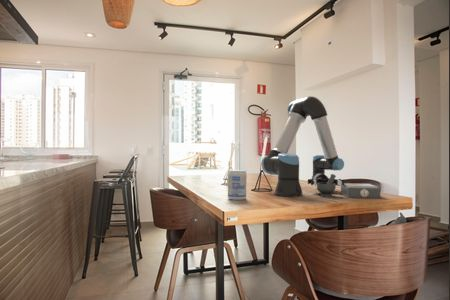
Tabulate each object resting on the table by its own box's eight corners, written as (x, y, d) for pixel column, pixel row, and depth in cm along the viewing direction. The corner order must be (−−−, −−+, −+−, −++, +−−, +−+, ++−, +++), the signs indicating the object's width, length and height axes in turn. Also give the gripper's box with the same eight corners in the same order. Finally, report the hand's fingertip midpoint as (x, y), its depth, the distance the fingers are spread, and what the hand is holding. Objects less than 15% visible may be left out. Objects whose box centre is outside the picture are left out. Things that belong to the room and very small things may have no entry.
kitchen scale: (348, 197, 149) (348, 186, 149) (340, 193, 166) (340, 183, 166) (380, 198, 147) (380, 186, 147) (369, 193, 163) (369, 183, 163)
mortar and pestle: (324, 197, 149) (324, 175, 149) (313, 195, 158) (313, 173, 158) (341, 196, 153) (341, 174, 154) (329, 194, 162) (329, 173, 162)
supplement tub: (232, 200, 139) (232, 171, 139) (224, 198, 147) (224, 170, 147) (249, 199, 143) (249, 170, 143) (241, 197, 151) (241, 169, 151)
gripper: (342, 186, 176) (352, 190, 155) (301, 185, 180) (305, 189, 159) (342, 174, 176) (351, 176, 155) (301, 173, 180) (305, 176, 159)
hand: (328, 183), depth 157 cm, fingers open, 13 cm apart
